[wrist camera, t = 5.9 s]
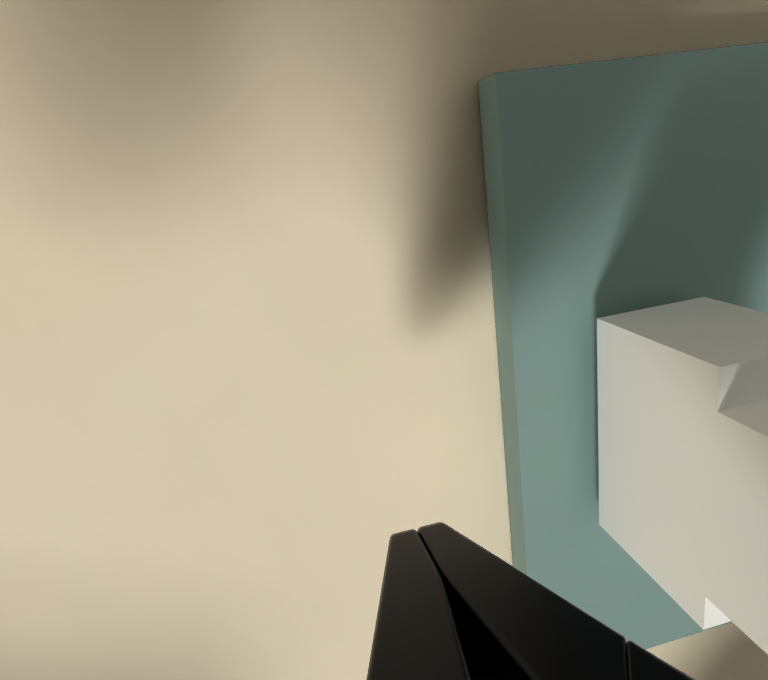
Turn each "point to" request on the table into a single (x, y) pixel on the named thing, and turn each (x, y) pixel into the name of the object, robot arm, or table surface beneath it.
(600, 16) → the table surface
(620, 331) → the clip
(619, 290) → the board
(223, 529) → the table surface
